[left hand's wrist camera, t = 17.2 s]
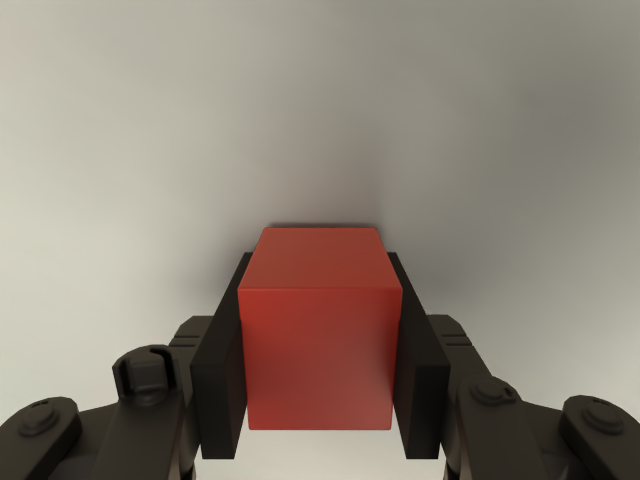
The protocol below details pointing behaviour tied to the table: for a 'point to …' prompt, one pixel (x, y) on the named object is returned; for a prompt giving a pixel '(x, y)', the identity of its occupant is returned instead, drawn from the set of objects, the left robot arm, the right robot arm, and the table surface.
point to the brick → (320, 330)
